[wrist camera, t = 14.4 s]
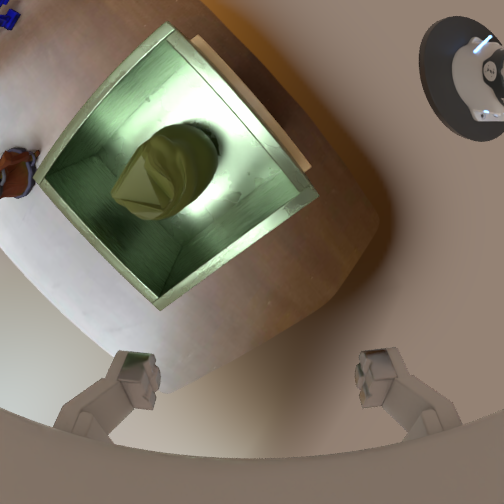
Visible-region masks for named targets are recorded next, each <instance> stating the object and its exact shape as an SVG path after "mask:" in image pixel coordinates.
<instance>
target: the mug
mask: <svg viewBox="0 0 504 504" xmlns="http://www.w3.org/2000/svg"><path fill="white" fill-rule="evenodd" d="M30 154H31V155H30ZM39 154H40V152H39V150H37V151H36V152H35V153H33V152H31V151H29V152H28V151H26V149H23V148H15V147H14V148H11V149H9V150H8V151H5V152H4V153H3V155H2V157H1V159H0V199H1V198H3V197H14V198H17V199H19V198H21V197H24V196H27V195H28V193H29V192H30V190H31V189H32V187H33V186H34V184H35V180H34V179H33V176H34V174H35V173H36V168H35V165H34V163H35V159H36V158H37V156H38V155H39Z"/></svg>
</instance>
